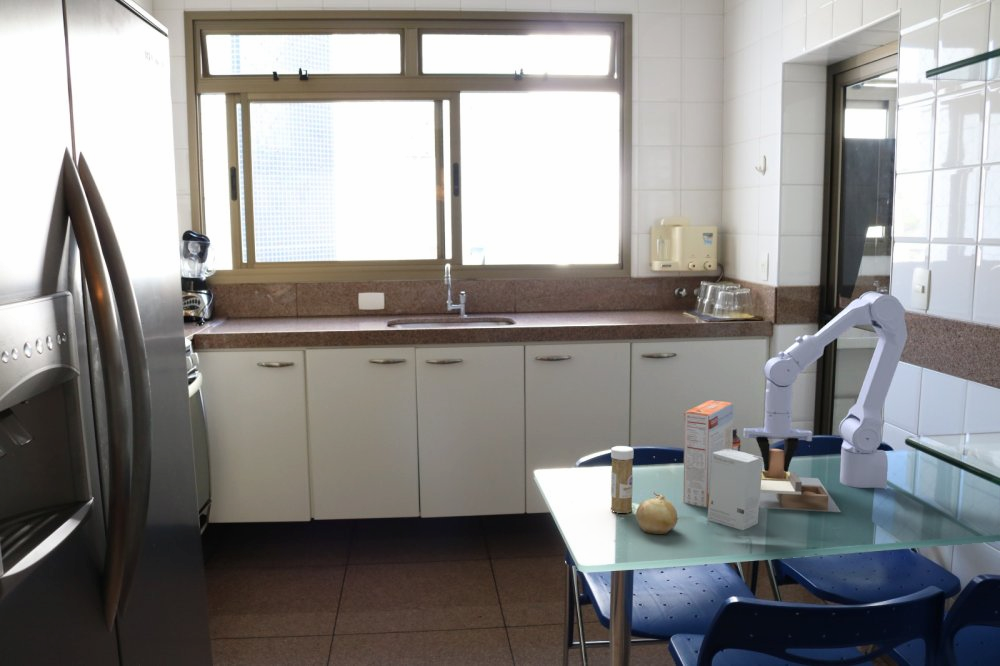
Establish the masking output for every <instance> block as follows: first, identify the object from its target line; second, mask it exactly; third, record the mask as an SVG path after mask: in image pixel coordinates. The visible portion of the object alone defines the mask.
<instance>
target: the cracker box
mask: <svg viewBox="0 0 1000 666" xmlns="http://www.w3.org/2000/svg"><path fill="white" fill-rule="evenodd" d="M683 414H684V416H683V417H684V421H683V422H684V424H683V425H684V427H683V430H684V432H683V433H684V436H683V437H684V438H683V440H684V441H683V443H684V444H683V498H682V499H683V504H687V505H693V506H698V507H703V508H707V509H708V506H709V494H710V481H711V469H712V457H713V453H714V452H717V451H721V450H724V449H731V450H732V440H733V427H734V426H733V425H734V402H728V401H722V400H712V399H710V400H707V401H704V402H703V403H701V404H699V405H697V406H695V407H693V408H690V409H688V410H686V411H684V413H683Z"/></svg>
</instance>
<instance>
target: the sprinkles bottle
mask: <svg viewBox="0 0 1000 666" xmlns="http://www.w3.org/2000/svg"><path fill="white" fill-rule="evenodd" d="M610 453H611V454H610V457H611V476H610V477H611V478H610V479H611V481H610V482H611V484H610V492H611V493H610V496H611V500H610V501H611V504H610V505H611V507H610V511H611V510H612V511H614V512H617V513H616V514H618V513H627V514H630V513H629V512H631V511H632V512H633V479H634V478H633V460H634V449H633V447H630V446H626V445H616V446H613V447H611V452H610ZM612 511H611V512H612ZM614 512H613V513H614ZM632 512H631V513H632Z"/></svg>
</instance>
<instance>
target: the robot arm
mask: <svg viewBox="0 0 1000 666" xmlns="http://www.w3.org/2000/svg"><path fill="white" fill-rule="evenodd" d="M905 312H906V309H905V308H904V306H903V304H902V303H901V302H900V300H899V299H898V298H897V297H895V296H894V295H892V294H885V293H884V294H883V293H879V292H877V291H873V290H872V291H867V292H864V293H862V295H860V296H859V298H855V299H854V300H852V301H851V302H850V303H849V304H848V305H847V306H846V307H845V308H844V309H843V310H842V311H840V312H839V313H838V314H837V315H836V316H834V317H833V318H832V319H831V320H830V321H829V322H827V323H826V325H824V326H823V327H822V328H820V329H819V330H818V331H817V332H816V333H815V334H813V335H811V334H810V335H809V334H805V335H803V336H800V335H799V336H797V337H796V338H795V342H794V343H793V344H792V345H791V346H789V347H788V348H787V349H785V350H784V351H779V352H778V356H776V357H775V356H774V357H771V358H770V359H768V361H767V362H766V363H765V365H764V367H763V368H762V372H763V375H764V376H765V378H766V386H765V387H766V389H765V400H764V401H765V406H764V423H763V424H764V427H752V428H751V427H750V428H749V427H748V428H746V427H743V433H742V434H743V435H742V436H743V438H744V439H747V440H749V439H755V440H756V443H757V446H758V448H759V450H760V451H759V452H760V454H761V457H762V458H763V470H765V471H768V469H769V461H768V456H769V449H770V446H771V445H770V444H771V443H769V439H771V440H783V444H784V445H783V446H784V451H785V466H784V471H785V472H788V471H789V467H790V464H791V461H792V459H793V457H794V454H795V453H796V451H797V449H798V448H799V446H800V442H799V441H801V440H802V441H807V442H812V441H813V433H812V431H811V430H806V429H805V430H804V429H795V428H794V429H793V428H792V416H793V415H792V414H793V394H794V393H793V384H794V383H796V380H797V379H798V375H799V373H801V372H803V371H804V370H805V369H807V368H808V367H809V366H810V365H812V364H813V363H814V362H815V361H817V360H819V359H820V358H821V357H822V356H823V355H824V350H825V347H826V346H827V345H830V343H832V342H833V341H834V340H836V339H837V338H839V337H841V336H842V335H843V334H844V333H846V332H847V331H849V330H850V329H852V328H853V327H854V326H855V327H856V326H861V325H863V326H864V325H871V327H873V329H874V332H875V333H876V335H877V336H878V340H877V344H876V347H875V349H874V352H873V355H872V358H871V360H870V364H869V366H868V369H867V371H866V374H865V377H864V380H863V383H862V386H861V389H860V392H859V395H858V397H857V400H856V403H855V404H854V405H852V406H851V407H850V408H849V409H848V413H847V415H846V416H845V417H844V418H843V419H842V420H841V421H840V423H839V426H838V433H839V434H838V435H839V436H840V438H842V440H843V441H842V444H841V449H840V453H841V454H840V467H839V468H840V471H839V472H840V473H839V483H841V484H842V485H845V486H848V487H852V488H859V489H860V488H861V489H862V488H863V489H865V488H875V489H878V488H879V489H884V490H887V488H888V487H887V486H888V484H887V483H888V471H889V470H888V466H889V462H888V455H887V453H886V451H885V450H883V449H878V448H879V447H880V445H881V443H882V433H881V432H882V426H883V424H884V422H883V417H882V410H883V406H884V404H885V402H886V398H887V395H888V392H889V390H890V387H891V385H892V382H893V378H894V376H895V373H896V372H897V371H896V370H897V367H898V366H899V365H898V364H899V362H900V359H901V356H902V355H903V354H902V353H903V350H904V348H905V345H906V342H907V339H908V330H907V325H906V320H905Z"/></svg>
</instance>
